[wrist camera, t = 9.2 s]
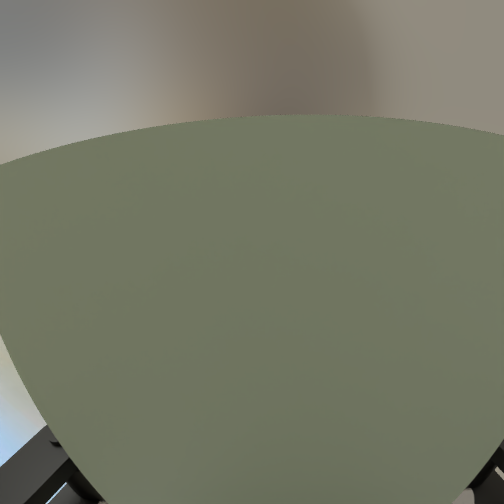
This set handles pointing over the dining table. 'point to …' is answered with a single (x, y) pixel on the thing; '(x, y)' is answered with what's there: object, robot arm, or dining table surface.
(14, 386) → the dining table surface
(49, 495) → the robot arm
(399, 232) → the carton
